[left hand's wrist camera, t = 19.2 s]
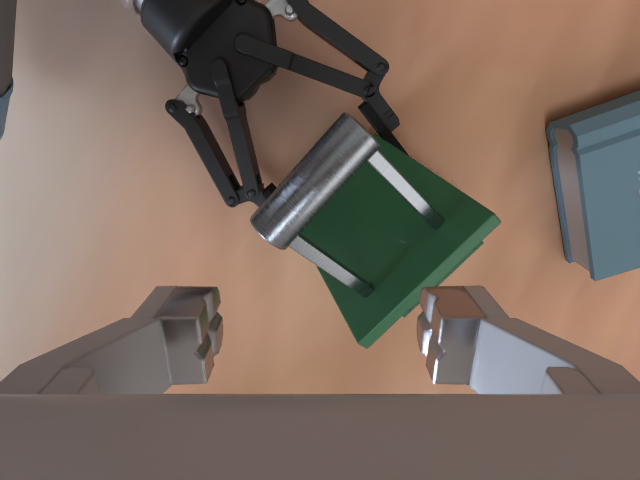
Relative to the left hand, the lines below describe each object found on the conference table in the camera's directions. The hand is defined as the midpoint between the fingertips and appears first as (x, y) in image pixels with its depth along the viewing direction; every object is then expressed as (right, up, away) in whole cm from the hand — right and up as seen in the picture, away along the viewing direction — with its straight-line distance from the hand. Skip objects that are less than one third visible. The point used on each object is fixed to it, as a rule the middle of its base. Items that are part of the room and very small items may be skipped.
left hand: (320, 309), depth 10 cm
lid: (+4, +3, +15) cm, 16 cm away
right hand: (+4, +5, +25) cm, 26 cm away
